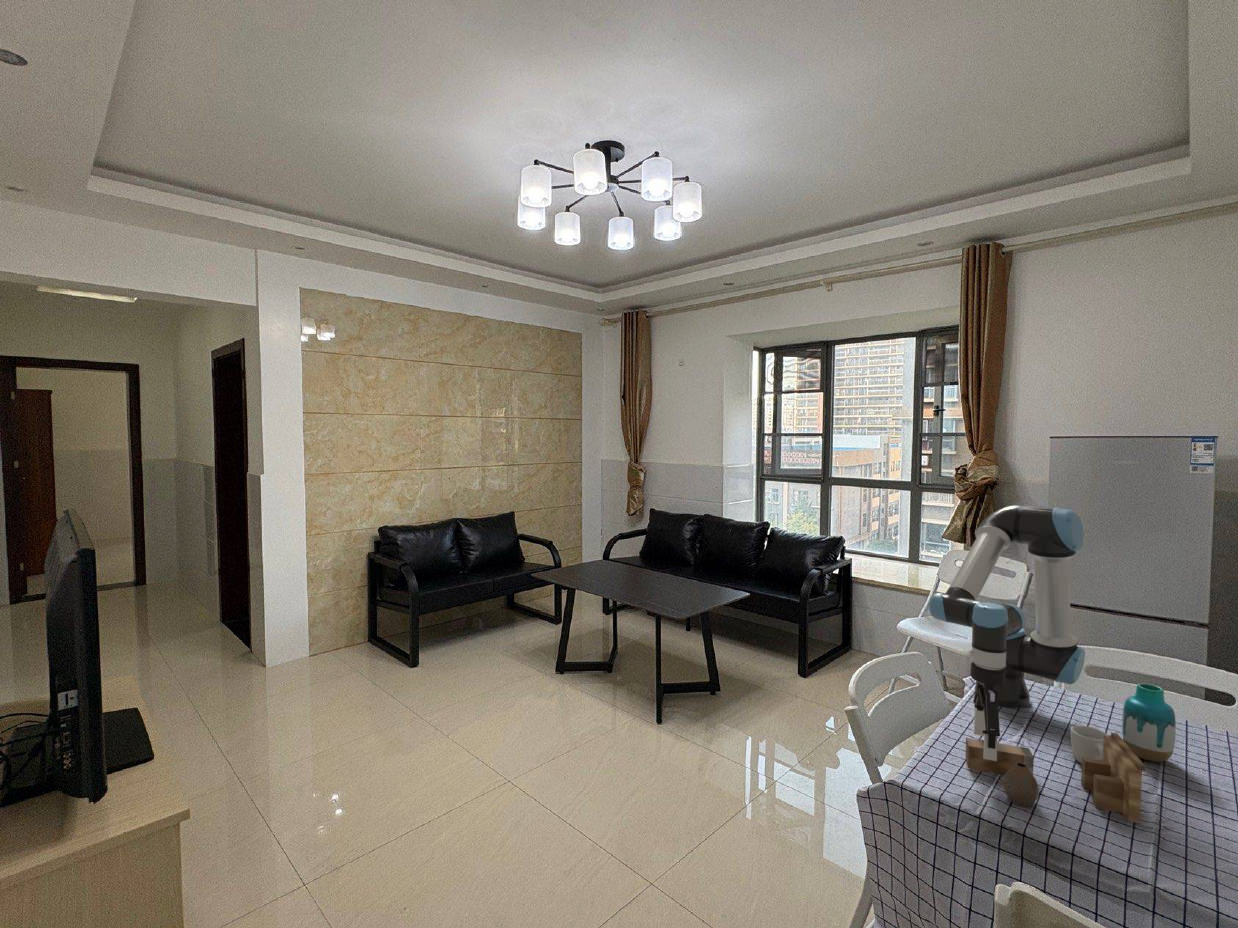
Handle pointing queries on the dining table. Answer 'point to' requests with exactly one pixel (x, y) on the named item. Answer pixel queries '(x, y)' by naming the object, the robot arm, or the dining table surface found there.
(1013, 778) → the vase
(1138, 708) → the vase
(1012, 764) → the brown wooden block
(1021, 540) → the robot arm
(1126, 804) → the headboard
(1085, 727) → the cup
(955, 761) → the dining table surface
